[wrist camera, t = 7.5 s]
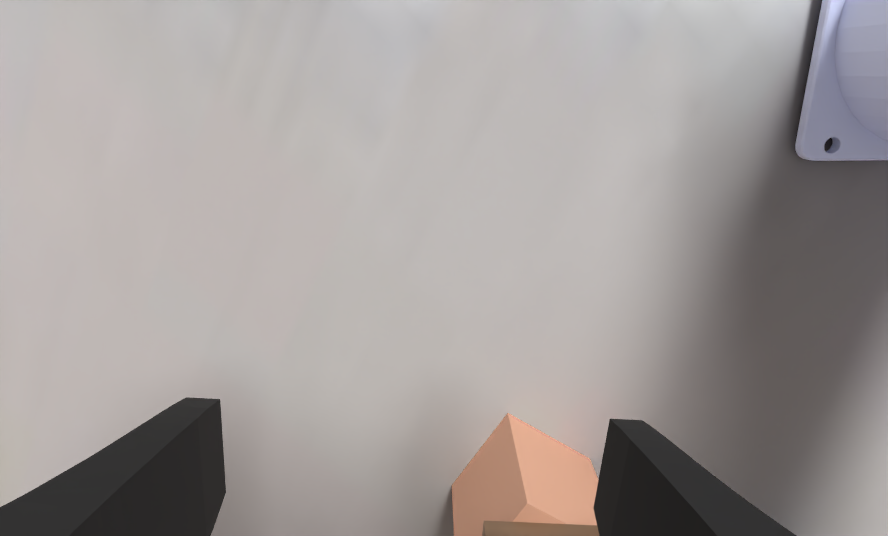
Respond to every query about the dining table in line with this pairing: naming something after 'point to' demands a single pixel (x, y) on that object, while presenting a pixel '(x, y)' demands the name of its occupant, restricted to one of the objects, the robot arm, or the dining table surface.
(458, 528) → the terracotta brick
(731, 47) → the dining table surface
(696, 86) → the dining table surface
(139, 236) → the dining table surface
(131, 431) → the robot arm
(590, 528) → the walnut brick
